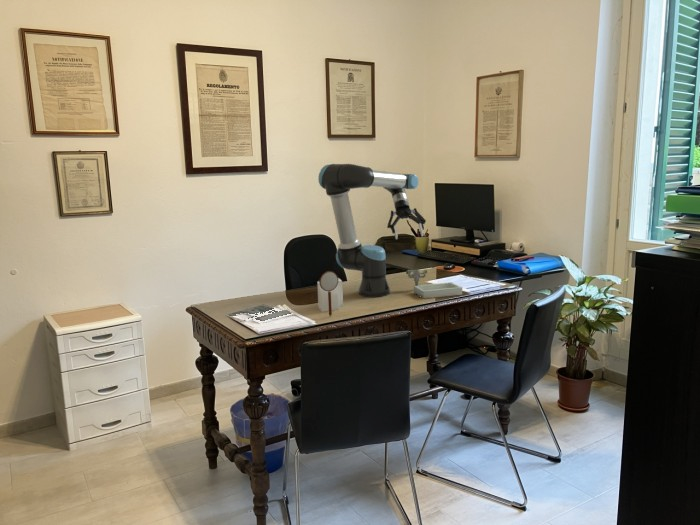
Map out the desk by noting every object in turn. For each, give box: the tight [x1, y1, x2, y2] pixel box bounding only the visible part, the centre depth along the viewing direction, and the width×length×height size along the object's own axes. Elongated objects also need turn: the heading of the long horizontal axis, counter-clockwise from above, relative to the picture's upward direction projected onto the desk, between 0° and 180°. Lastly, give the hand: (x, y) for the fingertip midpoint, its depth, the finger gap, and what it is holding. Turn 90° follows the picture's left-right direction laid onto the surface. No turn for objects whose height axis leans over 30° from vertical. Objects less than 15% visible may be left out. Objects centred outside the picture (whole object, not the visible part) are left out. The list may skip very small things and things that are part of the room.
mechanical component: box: [405, 269, 428, 286], centre depth 279 cm, size 3×10×10 cm, turn 89°
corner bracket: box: [316, 277, 344, 313], centre depth 252 cm, size 11×11×12 cm
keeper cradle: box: [413, 281, 463, 299], centre depth 270 cm, size 20×12×4 cm, turn 106°
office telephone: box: [227, 303, 292, 321], centre depth 244 cm, size 23×3×20 cm
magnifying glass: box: [318, 270, 339, 318], centre depth 236 cm, size 9×2×20 cm, turn 116°
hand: (409, 236), depth 286 cm, fingers open, 13 cm apart
